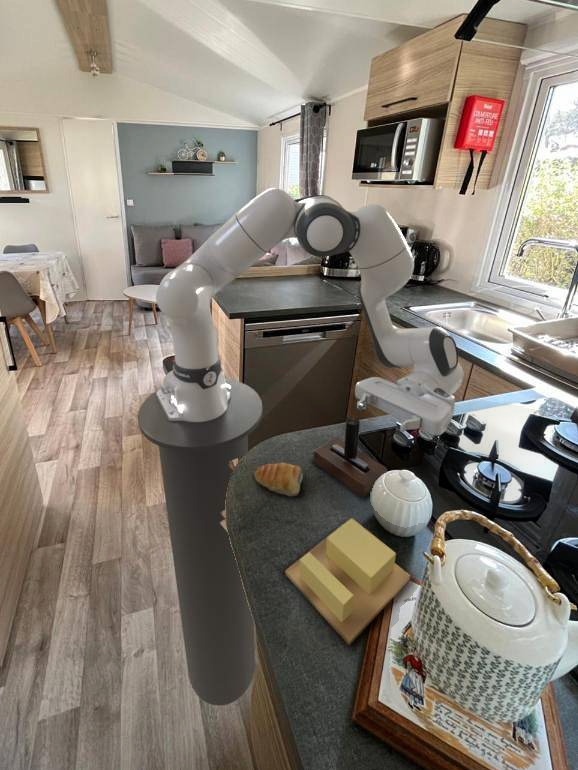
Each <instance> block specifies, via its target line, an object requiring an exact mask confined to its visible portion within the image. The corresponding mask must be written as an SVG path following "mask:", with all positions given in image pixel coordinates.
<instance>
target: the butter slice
mask: <svg viewBox="0 0 578 770" xmlns="http://www.w3.org/2000/svg"><path fill="white" fill-rule="evenodd" d="M308 552H309V551H308ZM308 552H307V553H308ZM307 553H305V554H306V555H305V554H304V555H305V556H304V555H303V556H304V557H303V556H302V557H303V558H302V557H300V558H301V559H300V558H299V559H300V572H299V577H300V578H301V579H302V580H303V581H304V582H305V583H306V584H307V585H308V586H309V587H310V588H311V590H312V591H313V592H314V593H315V594H316V595H317V596H318V597H319V598H320V599H321V600H322V601H323V602H324V604H325V605H326V606H327V607H328V608H329V609H330V610H331V611H332V612H333V613H334V614H335V615H336V616H337V618H338V619H339V620H340V621H341V622H343V621H344V620H345V619H346V618H347V617H348V616H349V615H350V614H351V613H352V605H353V594H352V593H351V592H350V591H349V590H348V589H346V588H345V587H344V586H343V585H342V584H341V583H340V582H339V581H338V580H337V579H336V578H335V577H334V576H333V575H332V574H331V573H330V572H329V571H328V570H327V569H326V568H325V567H324V566H323V565H322V564H321V563H320V562H319V561H318V560H317V559H316V558H315V557H314V556H313V555H312V554H311V553H310V552H309V553H308V554H307Z"/></svg>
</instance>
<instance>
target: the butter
mask: <svg viewBox="0 0 578 770" xmlns="http://www.w3.org/2000/svg"><path fill="white" fill-rule="evenodd" d="M344 523H345V524H344ZM344 523H343V524H344V525H342V524H341V525H342V526H341V525H340V526H341V527H340V526H339V527H340V528H339V527H338V528H339V529H338V528H336V529H337V530H336V529H335V530H336V531H335V530H334V531H335V532H334V531H333V532H334V533H333V532H332V533H333V534H331V533H330V534H331V535H330V534H329V535H330V536H329V535H328V536H329V537H328V536H327V537H328V538H327V545H326V555H327V556H328V557H329V558H330V559H331V560H332V561H334V562H335V563H336V564H337V565H338V566H339V567H340V568H341V569H342V570H343V571H344V572H345V573H346V574H347V575H348V576H349V577H350V578H352V579H353V580H354V581H355V582H356V583H357V584H358V585H359V586H360V587H361V588H362V589H363V590H364V591H365V592H366V593H367V594H368V595H370V594H371V593H372V592H373V591H374V590H375V589H376V588H377V587H378V585H379V584H380V583H381V582H382V581H383V580H384V579H385V578H386V577H387V576H388V575H389V574H390V573H391V572H392V571H393V570H394V564H395V562H396V556H397V552H395V551H394V550H393V549H392V548H390V547H389V546H388V545H386V544H385V543H384V542H382V541H381V540H380V539H379V538H377V536H375V535H374V534H373V533H372V532H370V531H369V530H368V529H366V528H365V527H363V526H362V525H361V524H360V523H358V521H356V520H355V519H354V518H352V517H351V518H349V520H347V521H346V522H344Z"/></svg>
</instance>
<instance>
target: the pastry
mask: <svg viewBox="0 0 578 770" xmlns="http://www.w3.org/2000/svg"><path fill="white" fill-rule="evenodd" d="M253 476H254V478H255V480H256V482H257V483H258V484H259V485H260V486H263V488H266V489H268V490H269V491H271V492H274V493H276V494H280V495H285V496H287V497H296V496H298V495H299V493H300V490H301V483H302V481H303V479H304V474H303V469H302V467H301V466H300V465H294V464H291V463H287V462H283V461H281V462H276V463H266V464H261V465H259V466H258V467H257V469H256V470H255V471H254V473H253Z"/></svg>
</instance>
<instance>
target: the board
mask: <svg viewBox="0 0 578 770" xmlns="http://www.w3.org/2000/svg"><path fill="white" fill-rule="evenodd" d="M345 523H346V522H344V523H342V524H341V525H340V526H339V527H337V528H336V529H334V531H332V532H331V533H329V535H328V536H326V537H325V538H324V539H323V540H321V541H319V543H318V544H316V545H315V546H314V547H313V548H311V549H310V550H309V551H308V552H306V553H305V554H304V555H303V556H302V557H300V558H299V559H297V560H296V561H295V562H294V563H293V564H291V565H290V566H289V567H287V568H286V569H285V570H284V574H285V576H286V577H287V578H288V579H289V580H290V582H292V584H293V585H294V586H295V587H296V588H297V589H298V590H299V591H300V592H301V593H302V595H303V596H304V597H305V598H306V599H307V600H308V602H310V604H312V606H313V607H314V608H315V610H317V611H318V612H319V613H320V615H321V616H322V617H323V618H324V619H325V620H326V622H327V623H328V624H329V625H330V626H331V627H332V628H333V629H334V630H335V631H336V633H337V634H338V635H339V636H340V638H342V640H344V641H345V643H346V644H347V645H348V646H351V644H352V643H353V642H354V641H355V640H356V639H357V638H358V637H359V636H360V635H361V633H363V631H364V630H365V629H366V627H368V626H369V625H370V623H371V622H372V621H373V620H374V619H376V617H377V616H378V615H379V614H380V613H381V612H382V610H384V608H385V607H386V606H387V605H388V604H389V603H390V602H391V600H393V598H394V597H395V596H396V595H397V594H398V593H399V592H400V591H401V590H402V588H403V587H404V586H405V585H406V584H407V583H408V582H409V581H410V580H411V575H410V574H409V573H408V572H406V570H404V569H403V568H402V567H401V566H399V565H398V564H397V563H395V564H394V570H393V571H392V572H391V573H390V574H389V575H388V576H387V577H386V578H385V579H384V580H383V581H382V582H381V583H380V584H379V585H378V587H377V588H376V589H375V590H374V591H373V592H372V593H371V594H370V595H368V594H367V593H366V592H365V591H364V590H363V589H362V588H361V587H360V586H359V585H358V584H357V583H356V582H355V581H354V580H353V579H352V578H350V577H349V576H348V575H347V574H346V573H345V572H344V571H343V570H342V569H341V568H340V567H339V566H338V565H337V564H336V563H335V562H334V561H332V560H331V559H330V558H329V557H328V556H327V555H326V545H327V538H328V537H329V536H330V535H331V534H333V533H334V532H335V531H336V530H337V529H339V528H340V527H341V526H342V525H344V524H345ZM309 552H310V553H311V554H312V555H313V556H314V557H315V558H316V559H317V560H318V561H319V562H320V563H321V564H322V565H323V566H324V567H325V568H326V569H327V570H328V571H329V572H330V573H331V574H332V575H333V576H334V577H335V578H336V579H337V580H338V581H339V582H340V583H341V584H342V585H343V586H344V587H345V588H346V589H348V590H349V591H350V592H351V593H352V594H353V605H352V613H351V614H350V615H349V616H348V617H347V618H346V619H345V620H344V621H343V622H341V621H340V620H339V619H338V618H337V616H336V615H335V614H334V613H333V612H332V611H331V610H330V609H329V608H328V607H327V606H326V605H325V604H324V602H323V601H322V600H321V599H320V598H319V597H318V596H317V595H316V594H315V593H314V592H313V591H312V590H311V588H310V587H309V586H308V585H307V584H306V583H305V582H304V581H303V580H302V579H301V578H300V577H299V572H300V559H301V558H303V557H304V556H305V555H306V554H308V553H309Z"/></svg>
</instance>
